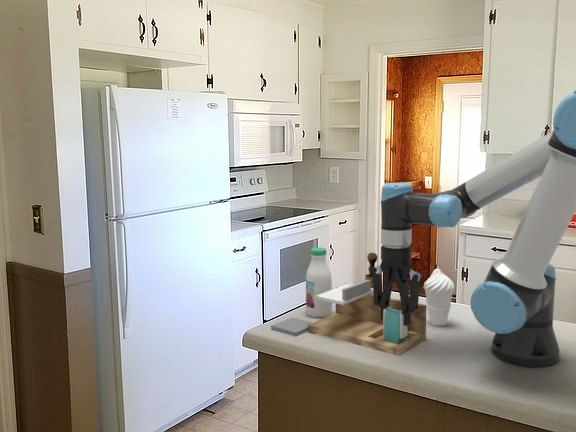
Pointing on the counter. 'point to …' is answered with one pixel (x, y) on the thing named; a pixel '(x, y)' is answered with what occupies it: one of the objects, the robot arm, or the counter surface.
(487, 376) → the counter surface
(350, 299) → the lid
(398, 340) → the block
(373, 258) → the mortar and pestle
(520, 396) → the counter surface
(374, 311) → the brown piece
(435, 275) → the soft serve ice cream cone
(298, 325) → the coaster
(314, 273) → the milk bottle
